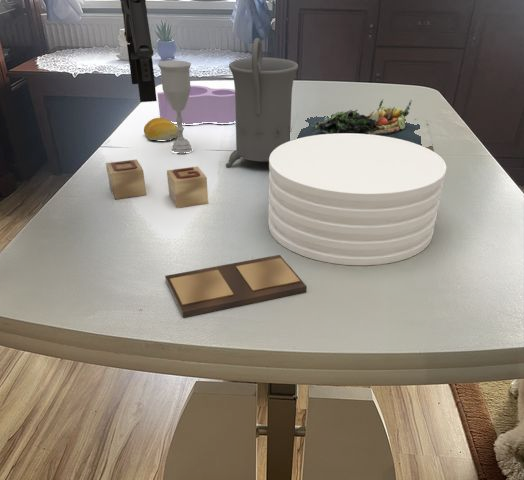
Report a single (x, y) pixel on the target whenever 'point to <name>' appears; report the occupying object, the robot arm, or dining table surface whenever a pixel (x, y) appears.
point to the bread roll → (160, 129)
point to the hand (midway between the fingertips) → (143, 92)
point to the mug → (261, 104)
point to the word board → (233, 285)
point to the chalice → (177, 95)
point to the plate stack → (354, 197)
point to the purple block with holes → (202, 106)
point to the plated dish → (366, 124)
